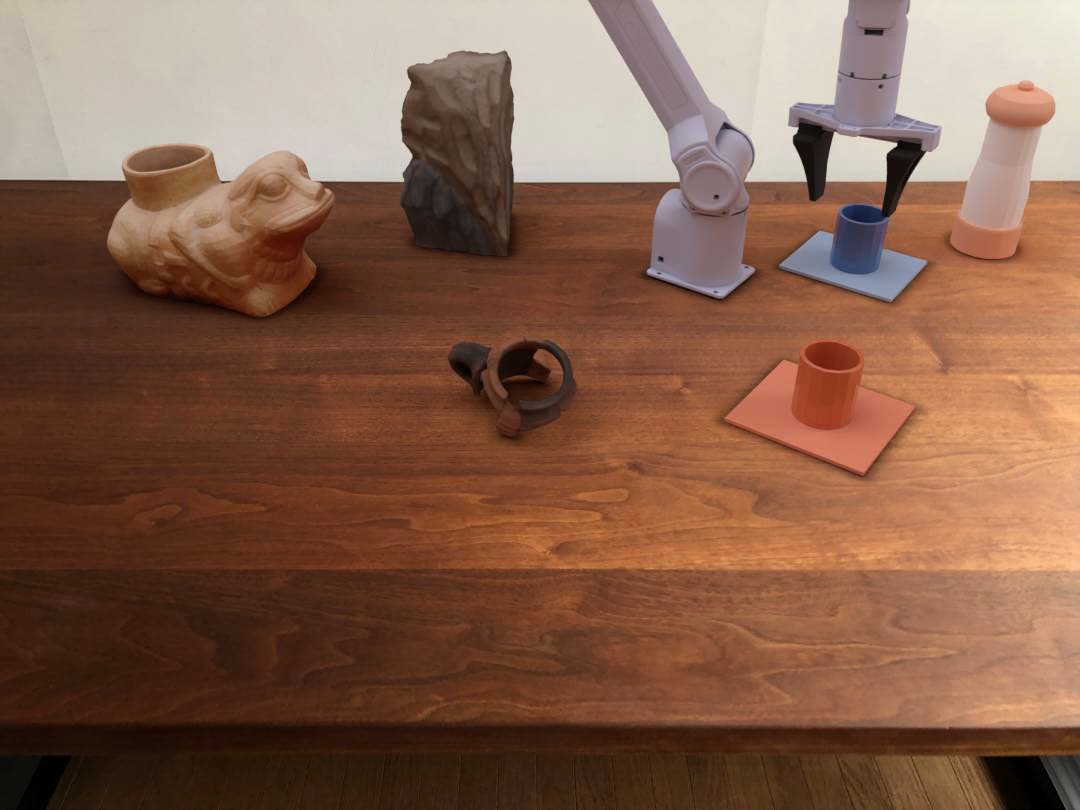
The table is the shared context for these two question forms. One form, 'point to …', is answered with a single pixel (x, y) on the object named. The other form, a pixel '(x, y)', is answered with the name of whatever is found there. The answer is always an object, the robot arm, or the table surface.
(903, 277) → the blue mat
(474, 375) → the dark brown ring-shaped piece
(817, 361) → the terracotta cup
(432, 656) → the table surface
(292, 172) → the ceramic vessel
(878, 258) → the blue cup
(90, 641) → the table surface
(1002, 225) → the salt shaker
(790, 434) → the coral mat
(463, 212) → the grey brown rock
